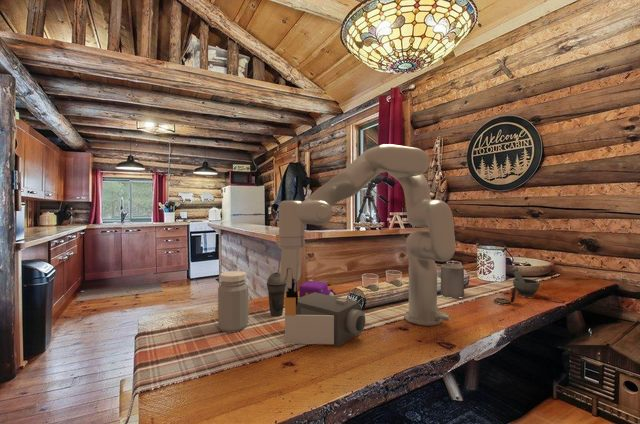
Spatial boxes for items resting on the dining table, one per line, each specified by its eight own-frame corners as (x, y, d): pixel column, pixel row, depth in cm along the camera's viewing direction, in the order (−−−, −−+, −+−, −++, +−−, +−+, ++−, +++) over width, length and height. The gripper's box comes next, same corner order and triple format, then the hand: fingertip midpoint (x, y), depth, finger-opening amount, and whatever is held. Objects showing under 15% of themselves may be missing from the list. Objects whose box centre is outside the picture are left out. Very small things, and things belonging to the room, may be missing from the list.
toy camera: (332, 312, 114) (332, 286, 114) (297, 310, 117) (297, 284, 117) (336, 304, 125) (336, 279, 125) (304, 301, 127) (304, 278, 127)
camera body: (369, 336, 93) (369, 301, 93) (348, 350, 84) (348, 312, 84) (314, 320, 106) (314, 289, 106) (291, 331, 97) (291, 298, 97)
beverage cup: (267, 311, 116) (267, 259, 115) (286, 310, 116) (286, 259, 116) (265, 318, 108) (265, 262, 108) (286, 317, 109) (286, 262, 109)
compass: (494, 299, 130) (494, 283, 130) (516, 303, 126) (516, 286, 126) (491, 304, 124) (491, 287, 124) (514, 308, 119) (514, 290, 119)
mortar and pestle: (543, 297, 134) (544, 270, 133) (531, 300, 129) (532, 272, 129) (517, 291, 144) (517, 266, 143) (505, 293, 139) (505, 268, 139)
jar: (211, 330, 98) (211, 275, 97) (230, 320, 107) (230, 269, 107) (237, 334, 94) (236, 277, 94) (254, 323, 103) (253, 271, 103)
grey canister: (446, 291, 143) (446, 260, 143) (467, 295, 136) (467, 262, 136) (436, 295, 137) (436, 262, 136) (458, 300, 129) (458, 265, 129)
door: (333, 343, 86) (333, 297, 86) (333, 344, 86) (333, 298, 85) (285, 342, 87) (285, 297, 87) (284, 343, 86) (284, 298, 86)
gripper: (283, 239, 96) (283, 296, 96) (274, 245, 81) (274, 313, 82) (307, 239, 96) (307, 297, 96) (301, 245, 81) (301, 313, 81)
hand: (292, 304), depth 89 cm, fingers closed
